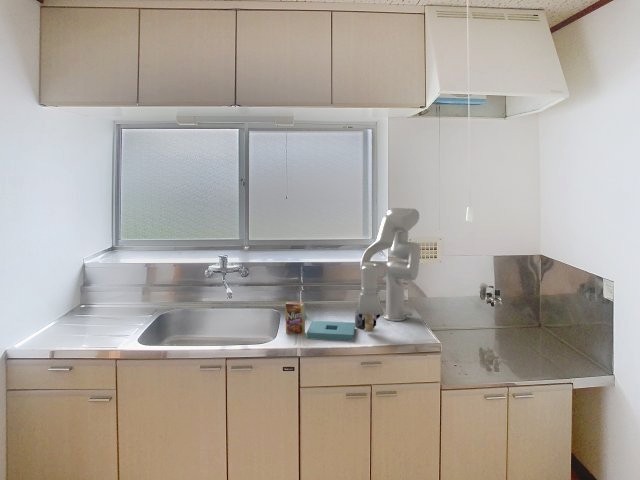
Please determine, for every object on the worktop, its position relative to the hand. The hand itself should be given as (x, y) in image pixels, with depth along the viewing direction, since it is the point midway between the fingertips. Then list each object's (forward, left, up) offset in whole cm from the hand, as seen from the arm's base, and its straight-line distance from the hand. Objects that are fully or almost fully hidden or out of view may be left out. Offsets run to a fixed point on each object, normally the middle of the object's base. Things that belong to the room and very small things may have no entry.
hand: (369, 326), depth 185 cm
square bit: (0, 0, -2) cm, 2 cm away
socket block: (+18, +1, -4) cm, 19 cm away
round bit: (+4, -10, -4) cm, 12 cm away
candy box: (+36, +2, -4) cm, 36 cm away
